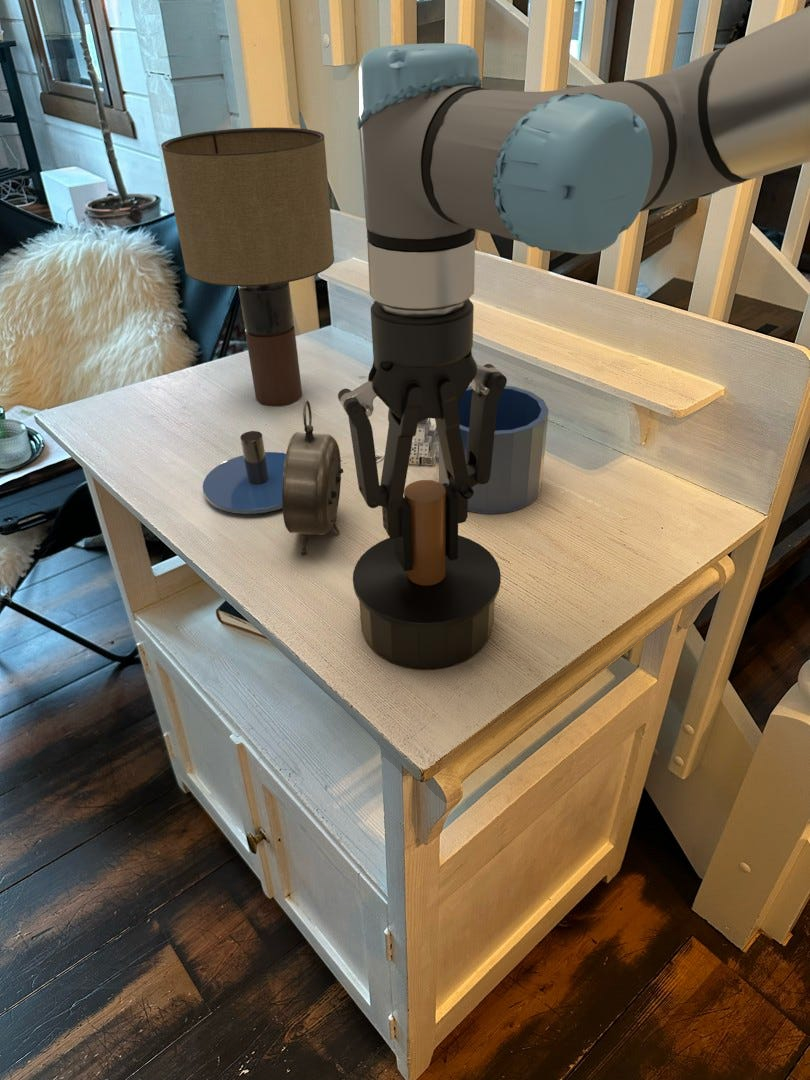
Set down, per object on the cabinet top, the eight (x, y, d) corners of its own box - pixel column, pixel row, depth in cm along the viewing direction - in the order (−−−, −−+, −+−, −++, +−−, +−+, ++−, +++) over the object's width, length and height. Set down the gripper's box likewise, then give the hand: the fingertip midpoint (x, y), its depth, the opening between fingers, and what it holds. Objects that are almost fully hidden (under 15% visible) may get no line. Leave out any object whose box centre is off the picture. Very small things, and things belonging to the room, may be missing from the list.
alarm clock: (306, 505, 91) (291, 378, 81) (351, 506, 90) (340, 379, 81) (286, 561, 82) (266, 426, 72) (335, 562, 81) (321, 428, 72)
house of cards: (383, 429, 106) (380, 378, 101) (445, 433, 104) (445, 382, 100) (368, 462, 98) (365, 408, 94) (434, 467, 97) (434, 412, 93)
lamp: (306, 359, 127) (280, 122, 106) (369, 401, 113) (353, 139, 92) (191, 390, 118) (139, 139, 97) (245, 440, 104) (196, 160, 84)
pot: (560, 481, 93) (568, 403, 87) (501, 526, 86) (505, 445, 80) (477, 449, 100) (480, 375, 94) (416, 489, 93) (414, 412, 87)
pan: (517, 616, 74) (521, 572, 70) (436, 691, 66) (436, 645, 63) (418, 566, 81) (418, 523, 77) (334, 629, 73) (329, 585, 70)
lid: (529, 576, 71) (537, 483, 65) (437, 656, 63) (436, 559, 57) (418, 524, 78) (415, 437, 72) (323, 590, 70) (311, 497, 64)
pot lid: (337, 482, 95) (332, 431, 90) (252, 531, 87) (242, 478, 82) (265, 449, 102) (258, 400, 98) (182, 492, 94) (169, 440, 90)
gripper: (504, 270, 60) (493, 515, 73) (297, 299, 56) (326, 553, 69) (549, 299, 54) (528, 559, 68) (322, 333, 50) (348, 603, 64)
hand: (426, 556), depth 68 cm, fingers closed on lid, 4 cm apart
